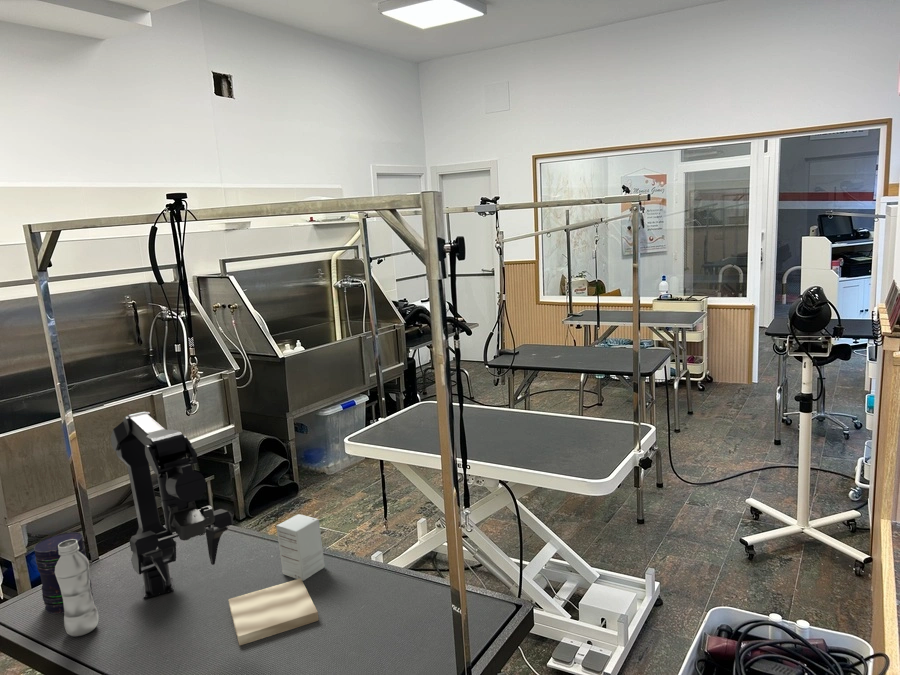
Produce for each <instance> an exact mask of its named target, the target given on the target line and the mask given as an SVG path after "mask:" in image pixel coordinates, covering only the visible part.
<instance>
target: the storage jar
mask: <svg viewBox="0 0 900 675" xmlns="http://www.w3.org/2000/svg"><path fill="white" fill-rule="evenodd" d="M83 538H84V537H83V534H82V533H81V532H78V531H77V532H76V531H74V532H73V531H72V532H64V533H58V534H56V535H53V536H50V537H47V538H45V539H42V540H41V541H39V542H38V543H36V544H35V545H34V547H33V550H34V553H35V554H34V555H35V564H36V567H37V568H36V569H37V571H38V573H39V575H40V580H41V592H42V594H41V595H42V600H43V602H44V605H45V606H44V608H45V612H46V613H48V614H51V615H59V614H60V615H61V614H64V604H63V598H62V594H61V590H60V586H59V584H58V581H57V578H56V575H55V566H56V564H57V562H58V560H59V558H60V557H61V555H59V553H58V552H59V550H58V545H59V544H60V543H61V542H64V541H66V540H71V539H76V540H77V541H78V546H79V550H78V551H79V552H80V553H82V554H83V555H84V556H86V557H87V553H86V546H85V543H84V540H83ZM89 580H90V588H91V594H92V597H93V598H94V596H93V594H94V593H93V591H92V589H93V588H92V580H91V578H90V575H89Z"/></svg>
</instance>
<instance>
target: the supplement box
mask: <svg viewBox="0 0 900 675" xmlns="http://www.w3.org/2000/svg"><path fill="white" fill-rule="evenodd" d="M275 527H276V533H277V534H276V535H277V540H278V548H279V554H280V555H279V556H280V563H281V570H282V574H283V575H285V576H287V577H290V578H293V579H295V580H296V579H300V578H301V580H302V582H303V581H306V580H307V579H309V578H310V577H312V576H313V575H315V574H316V573H318V572H319V571H321V570H323V569H325V568H326V567H325V566H326V565H325V559H324V552H323V551H324V550H323V544H322V536H321V535H322V533H321V528H320V519H319V518H316V517H311V516H308V515H304V514H302V513H301V514H300V513H298V514H296V515H294V516H291V517H290V518H288V519H286V520H284V521H282V522H281V523H278V524H276V526H275Z"/></svg>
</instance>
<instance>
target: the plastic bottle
mask: <svg viewBox="0 0 900 675" xmlns="http://www.w3.org/2000/svg"><path fill="white" fill-rule="evenodd" d="M58 550H59V552H58V553H59V555H61V557H60V558H59V560H58V562H57V564H56V566H55V575H56V578H57V581H58V584H59V586H60V590H61V594H62V598H63V604H64V613H63V615H64V616H63V627H64V629H65V632H66V633H67V635H69V636H71V637H81V636H84V635H87V634H89V633H91V632H92V631H94V630H95V628H97V626H98V624H99V612H98V609H97V607H96V604H95V602H94V596H93V597H92V594H91V591H92V590H91V588H90V580H91V579H90V580H89V576H90V561H89V558H87V555H86V556H84V555H83V554H82V553H80V552H79V551H78V550H79V546H78V541H77V540H76V539H71V540H66V541H64V542H61V543H60V544H59V545H58Z"/></svg>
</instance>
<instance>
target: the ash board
mask: <svg viewBox="0 0 900 675" xmlns="http://www.w3.org/2000/svg"><path fill="white" fill-rule="evenodd" d="M227 600H228V607H229V610H230V615H231V619H232V622H233V626H234V631H235V634H236V639H237V642H238V646H243V645H246V644H249V643H250V644H251V643H252V642H256V641H259V640H262V639H265V638H268V637H272V636H275V635H278V634H281V633H283V632H287V631H291V630H294V629H297V628H299V627H303V626H306V625H309V624H312V623H315V622H318V621H319V614H318V613H319V612H318V610H317V607H316V606H315V604H314V602H313V600H312V598H311V596H310V594H309V592H308V589H307V588H306V586H305V584H304V582H303V581H302V580H301V578H300V579H296V578H295V579H294V580H290V581H287V582H283V583H280V584H276V585H272V586H269V587H266V588H263V589H259V590H254V591H251V592H249V593H245V594H242V595H241V594H240V595H238V596H233V597H231V598H228V599H227Z"/></svg>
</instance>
